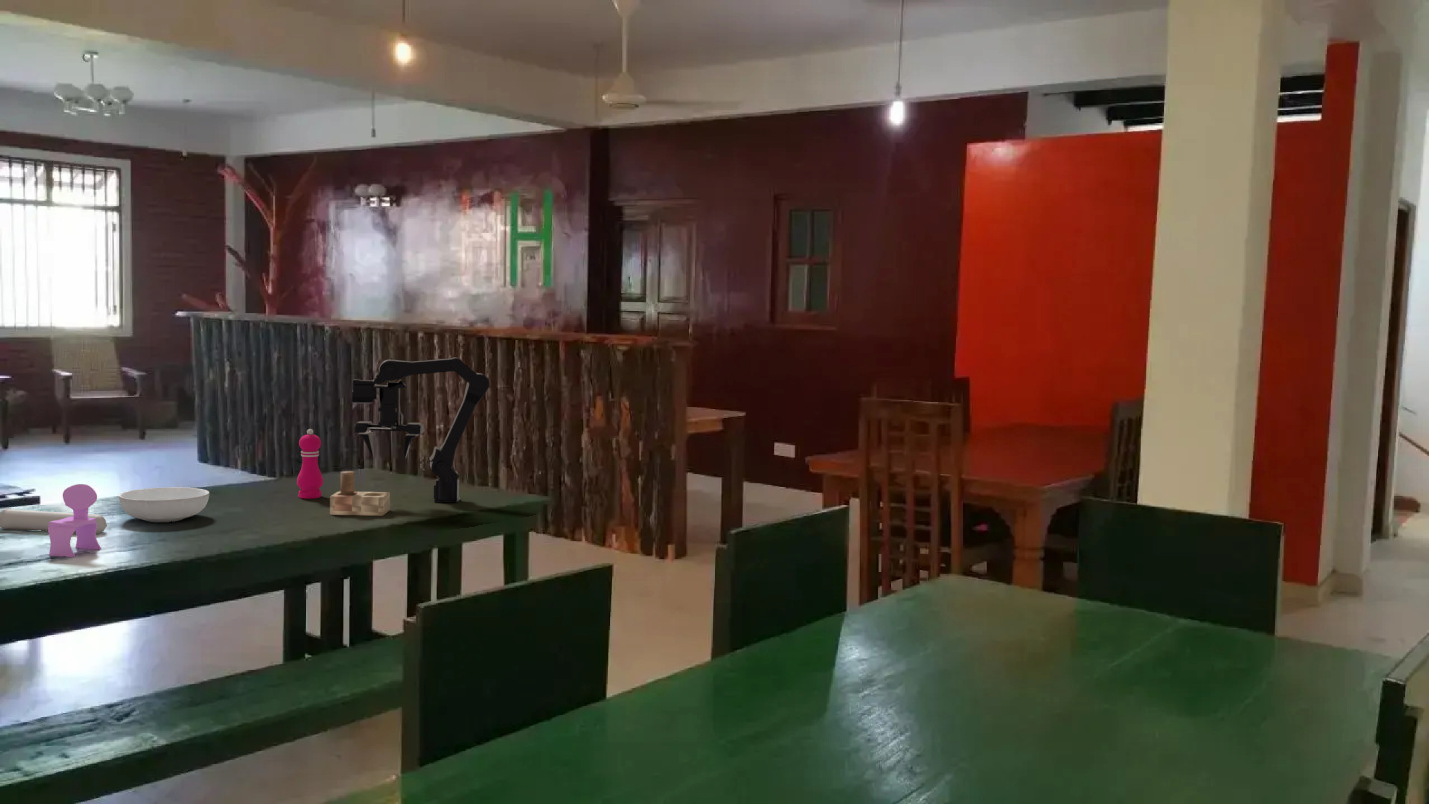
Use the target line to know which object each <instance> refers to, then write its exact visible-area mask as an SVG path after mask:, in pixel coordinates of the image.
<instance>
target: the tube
mask: <svg viewBox="0 0 1429 804" xmlns="http://www.w3.org/2000/svg"><path fill="white" fill-rule="evenodd" d="M67 517H73V512H61V511H60V512H59V511H46V510H45V511H44V510H29V509H12V508H10V507H9V508H4V509H1V512H0V529H2V530H3V531H4V530H13V531H15V530H16V531H28V530H41V531H40V532H46V531H48V527H49V522H51V521H56V520H61V519H64V518H67ZM88 518H96V523H97V528H96V535H99V534H101V533H103V532H104V531H105V530H106V529H107V526H108V525H107V524H108V523H107V520H106V519H105V517H104V516H103V515H100V514H95V513H94V514H93V513H88ZM73 534H76V531H74V533H73Z"/></svg>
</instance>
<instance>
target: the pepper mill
mask: <svg viewBox="0 0 1429 804" xmlns="http://www.w3.org/2000/svg"><path fill="white" fill-rule="evenodd" d="M298 444H299V445H298V446H299V448H300V449H301V451H300V456H301V457H302V463H301V469H300V471H299V473H298V475H297V478H296V485H297V487H298V488H299V489H300V490H299V491H298V498H300V499H305V500H308V499H311V500H312V499H319V498H321V497H322V490H321V487H322V486H323V485H324V479H323V475H322V472H321V470H320V468H319V467H320V466H319V461H318V458H319V456H320V451H319V449H320V448H321V446H322V440H321V438H320V437H319V436H318V435H316V434H314V430H313V429H312V428H309V429H307V430H306V434H304V435H303V436H301V438H300V439H299V441H298Z"/></svg>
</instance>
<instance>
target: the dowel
mask: <svg viewBox="0 0 1429 804" xmlns="http://www.w3.org/2000/svg"><path fill="white" fill-rule="evenodd" d="M340 491H341V495H348V496H354V492H355V471H353V470H348V471H347V470H345V471H340Z"/></svg>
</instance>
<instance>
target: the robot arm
mask: <svg viewBox="0 0 1429 804" xmlns="http://www.w3.org/2000/svg"><path fill="white" fill-rule="evenodd" d="M378 370H379V372H378V373H377V374H376V376H374V377H373V378H372V379H371V380H369V379H368V380H367V379H366V380H365V379H363V380H362V379H358V378H357V379H352V391H351V404H373V401H377V393H378V413H377V420H378V424H376V423H375V424H374V423H373V421H370V420H369V421H368V420H367V421H366V420H365V421H364V420H363V421H362V420H360V421H357V422H355V424H354V425H353V433H354V434H355V433H356V434H358V436H359V437H362V439H363V441H364V443H365V445H366V447H367V450H368V452H369V454H370V457H371V458H374V456H375V449H374V432H375V431H376V432H378V431H380V432H406V433H407V434H405V435H404V444H403V445H404V447H403V458H404V459H407V457H408V453H409V450H410V447H411V445H412V443H413V441H414V439H415V438H417V437H418V436H420V435H422V434H423V433H424V432H425V427H424V424H423V422H408V423H406V424H404V414H403V413H402V412H401V404H400V403H401V401H400V400H401V389H407V385H406V384H405V383H404V382H403V380H402V379H403V378H407V377H410V376H413V375H424V374H436V373H446V372H447V373H448V372H449V373H450V372H454V373H455V374H457V375H458V376H460V377H461V378H462V379H463V380H464V381H466V386H465V390H464V395H463V399H462V402H461V403H460V406H459V409H458V411H457V413H456V415H455V417H454V419H453V421H452V424H451V425H450V428H449V430H448V433H447V435H446V437H445V439H444V441H443V443H442V444H441V445H440V447H437V446H434V447H433V451H432V454H431V456H429V458H428V459H429V466H430V470H431V471H432V473H433V474H434V476H437V479H435V484H434V485H433V499H434V502H435V503H458V502H459V501H460V499H461V497H460V479H459V477H460V475H459V473H458V472H457V470H456V469H455V467H453V463H454V460H455V455H456V449H457V447H458V445H459V443H460V440H461V438H462V437H463V434H464V432H465V430H466V428H467V425H468V423H469V421H470V419H471V417H472V415H473V412H474V410H475V408H476V406H477V404H479V402H480V401H481V400H482V399H483V397H484V396H485V394H486V393H487V391H488V390H489V388H490V380H489V378H488V377H487V376H485V375H484V374H483V373H480V372H475V371H474V370H473V369H471V368H470V367H469V366H468V365H467V364H465V363H464V362H463V360H462V359H461V358H459V357H455V356H454V357H452V358H444V359H443V358H442V359H429V360H417V361H416V360H415V361H408V360H397V359H386V360H383V361H382V362H381V363H380V365H379V369H378ZM396 380H398V381H397V382H396ZM387 381H388V382H387ZM385 382H387V383H386V385H381V384H384V383H385ZM377 389H378V392H377Z"/></svg>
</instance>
